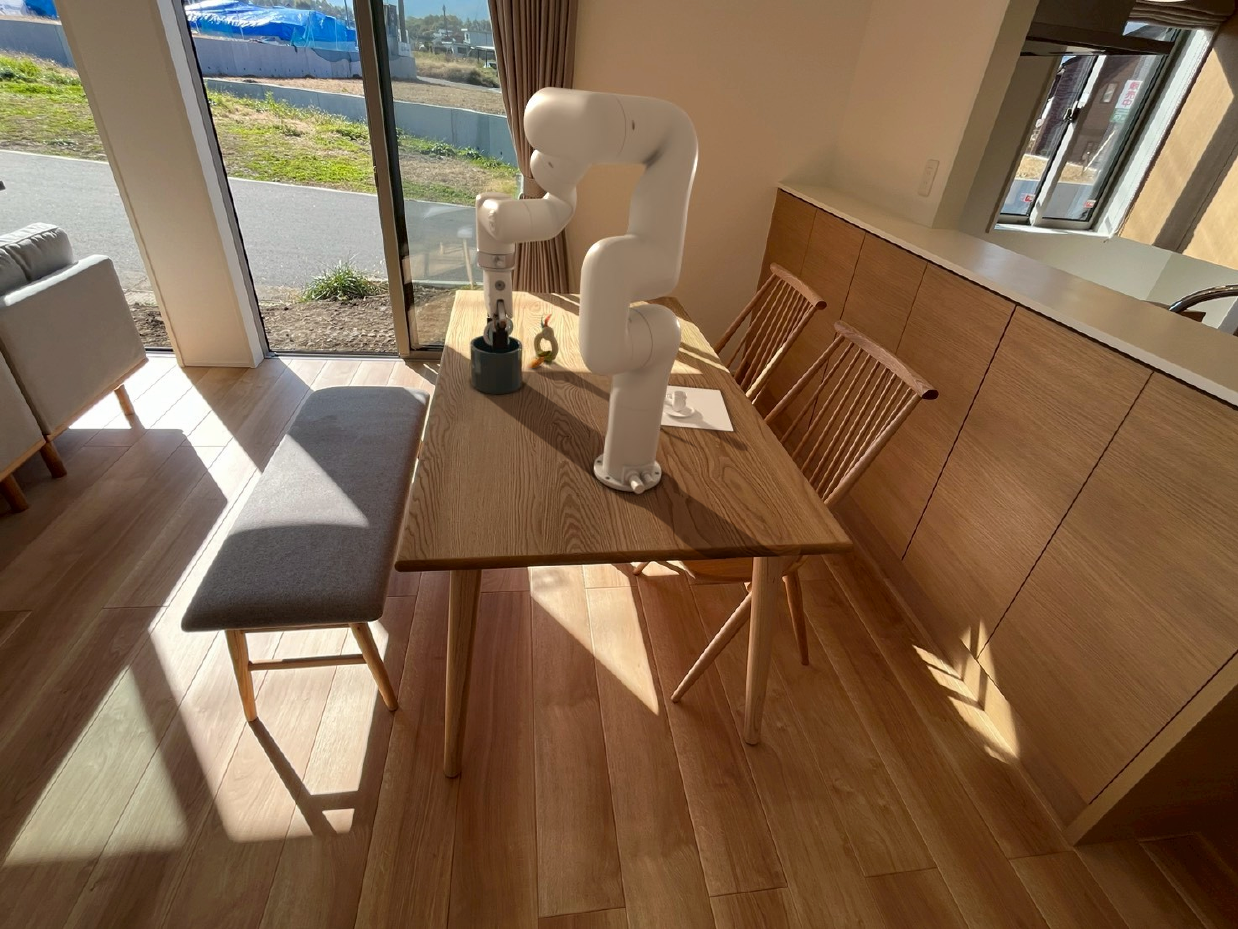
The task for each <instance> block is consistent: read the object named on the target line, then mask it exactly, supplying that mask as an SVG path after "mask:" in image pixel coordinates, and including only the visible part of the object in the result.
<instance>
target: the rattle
mask: <svg viewBox="0 0 1238 929" xmlns="http://www.w3.org/2000/svg"><path fill="white" fill-rule="evenodd" d="M552 315H553V314H552V313H550V314H548V316H546V317H545V319H544V322H543V317H541V318H540V327H541V329H542V330H541V331H539V332H538V333H536V334H535V336H534V339H533V349H534V352H535V354H536V357H537V358H535V359H534V360H532V361H531V362H530V364H529V368H531V369H535V368H537V367H539V366H541V365H542V364H543V363H544V361H546V362H552V361H555V360H556V358H557V356H558V354H559V351H560V350H559V349H560V347H559V343H558V340H557V338H556V337H555V331H554V329H553V328H552V327H551V326H549V324H548V323H549V320H550V318H551V317H552ZM543 339H544V340H545V341H548V342H549V343H550V346H551V349H550V350H549V349H548V350H543V349H542V346H541V341H542V340H543Z"/></svg>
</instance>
